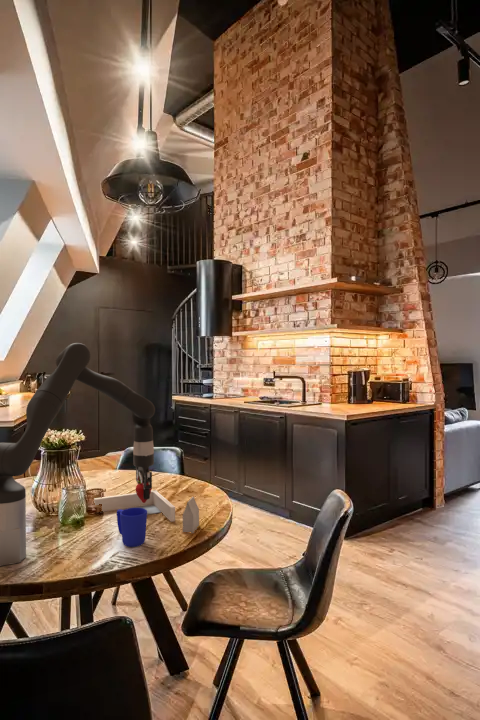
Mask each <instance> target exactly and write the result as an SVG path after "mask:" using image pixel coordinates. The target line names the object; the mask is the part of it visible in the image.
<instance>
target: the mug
mask: <svg viewBox="0 0 480 720" xmlns="http://www.w3.org/2000/svg"><path fill="white" fill-rule="evenodd" d="M147 519H148V515H147V510H146V509H144V508H133V507H132V508H129V509H128V508H125V509H118V510H116V520H117V521H116V523H117V529H118V532H119V534H120V535H121V540H122V543H123V545H124V547H128V548H135V547H140V546H143V544H144V543H145V541H146V537H147V536H146V534H147V521H148V520H147Z"/></svg>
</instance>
